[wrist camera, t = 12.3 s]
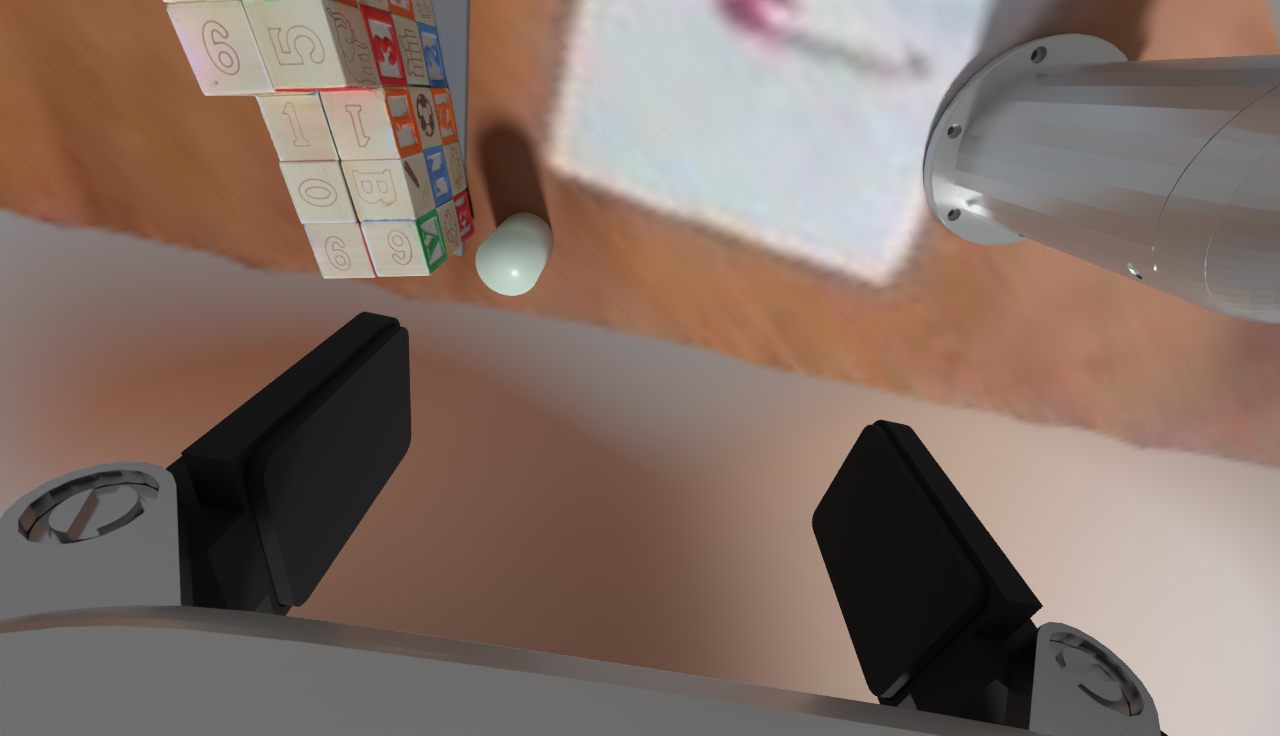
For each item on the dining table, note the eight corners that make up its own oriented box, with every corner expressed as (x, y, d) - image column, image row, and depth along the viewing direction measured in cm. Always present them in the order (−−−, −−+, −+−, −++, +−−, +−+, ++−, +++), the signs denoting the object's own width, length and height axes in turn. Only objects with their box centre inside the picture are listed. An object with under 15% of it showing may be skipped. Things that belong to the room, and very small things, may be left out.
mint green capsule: (556, 218, 35) (542, 241, 30) (550, 270, 37) (536, 300, 32) (501, 206, 34) (476, 228, 29) (498, 259, 36) (474, 289, 31)
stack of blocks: (478, 234, 35) (408, 299, 24) (393, 235, 35) (284, 302, 24) (397, -198, 24) (202, -423, 13) (272, -195, 24) (-23, -416, 13)
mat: (474, -206, 24) (470, -213, 24) (464, 253, 36) (461, 255, 36) (285, -262, 23) (277, -270, 23) (339, 228, 35) (335, 231, 35)
